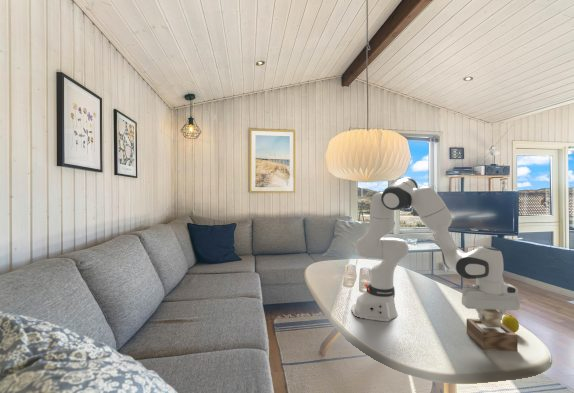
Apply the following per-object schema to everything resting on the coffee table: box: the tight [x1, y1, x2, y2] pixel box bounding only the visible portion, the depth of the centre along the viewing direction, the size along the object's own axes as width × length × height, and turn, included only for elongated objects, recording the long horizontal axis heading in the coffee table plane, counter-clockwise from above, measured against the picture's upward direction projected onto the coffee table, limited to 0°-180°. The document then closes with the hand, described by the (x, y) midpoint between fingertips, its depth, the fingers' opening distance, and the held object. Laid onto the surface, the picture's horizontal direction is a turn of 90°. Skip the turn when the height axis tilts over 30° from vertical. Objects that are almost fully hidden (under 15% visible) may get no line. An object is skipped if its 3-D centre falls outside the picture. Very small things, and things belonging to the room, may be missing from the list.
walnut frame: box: [466, 318, 518, 352], centre depth 106 cm, size 12×12×6 cm
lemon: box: [501, 314, 520, 333], centre depth 112 cm, size 6×6×8 cm
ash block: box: [479, 309, 502, 328], centre depth 106 cm, size 5×5×6 cm
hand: (490, 318), depth 106 cm, fingers closed on ash block, 5 cm apart
